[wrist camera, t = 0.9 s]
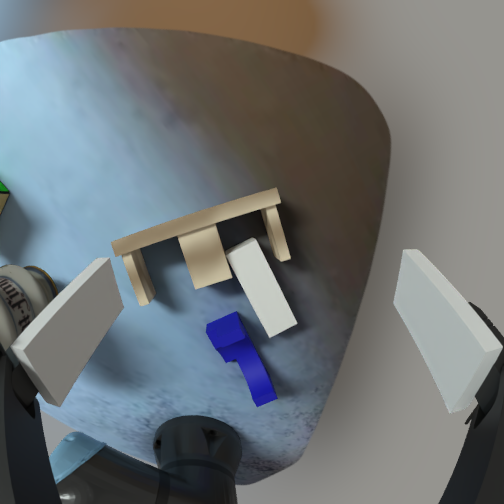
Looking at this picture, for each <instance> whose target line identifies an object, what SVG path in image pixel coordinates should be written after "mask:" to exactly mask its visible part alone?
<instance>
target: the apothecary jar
mask: <svg viewBox="0 0 504 504" xmlns="http://www.w3.org/2000/svg"><path fill="white" fill-rule="evenodd" d="M57 295H58V291H57V289H56V286H55V284H54V282H53V280H52V279H51V277H50V276H49V275H48V274H47V273H46V272H45V271H43V270H42V269H40V268H38V267H36V266H26V267H24V268H22V267H20V266H17V265H11V264H10V265H4V266H2V267H0V342H1V344H2V346H3V348H4V350H5V351H6V350H7V349H8V347H9V346H10V345H11V344H12V343H13V342H14V341H15V339H16V338H17V337H18V336H19V335H20V334H21V333H22V332H23V330H25V328H26V327H27V326H28V325H29V324H31V322H32V321H33V320H34V318H35V317H36V316H37V315H39V314H40V313H41V312H42V311H43V310H44V309H45V308H46V307H47V306H48V305H49V304H50V302H51V301H52V300H53V299H54V298H55V297H56V296H57Z"/></svg>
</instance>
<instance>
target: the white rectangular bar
mask: <svg viewBox="0 0 504 504" xmlns="http://www.w3.org/2000/svg"><path fill="white" fill-rule="evenodd" d="M225 255H226V257H227V259H228V261H229V263H230V265H231V267H232V269H233V270H234V272H235V274H236V276H237V278H238V280H239V282H240V284H241V286H242V288H243V289H244V291H245V293H246V295H247V297H248V299H249V301H250V303H251V304H252V306H253V308H254V310H255V312H256V314H257V316H258V317H259V319H260V321H261V323H262V325H263V327H264V328H265V330H266V332H267V334H268V336H269V338H271V337H273V336H274V335H276V334H278V333H280V332H282V331H284V330H286V329H288V328H290V327H292V326H294V325H295V324H297V321H296V319H295V317H294V315H293V313H292V311H291V309H290V307H289V305H288V303H287V301H286V299H285V297H284V295H283V293H282V291H281V289H280V287H279V285H278V283H277V281H276V279H275V277H274V275H273V273H272V271H271V269H270V267H269V265H268V263H267V261H266V259H265V257H264V255H263V253H262V251H261V249H260V247H259V244H258V242H257V240H256V239H254V238H253V237H251V238H249V239H247V240H246V241H244V242H242V243H240V244H238V245H236V246H234V247H232V248H230V249H228V250H226V251H225Z"/></svg>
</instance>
